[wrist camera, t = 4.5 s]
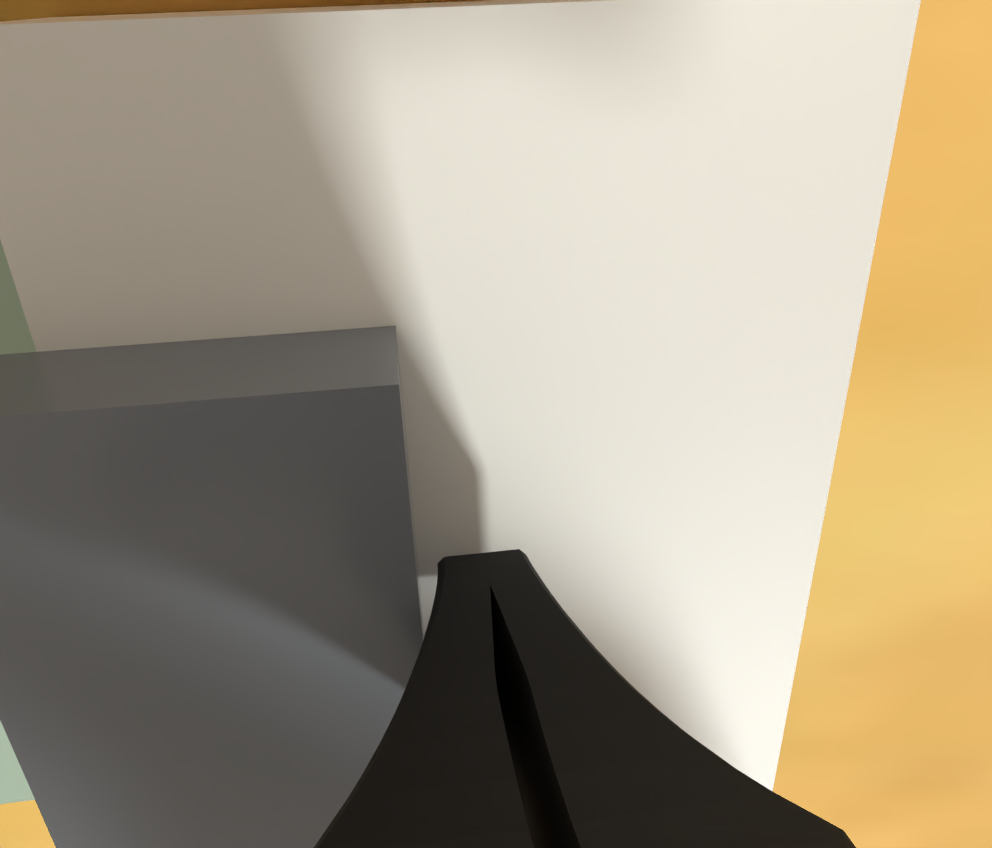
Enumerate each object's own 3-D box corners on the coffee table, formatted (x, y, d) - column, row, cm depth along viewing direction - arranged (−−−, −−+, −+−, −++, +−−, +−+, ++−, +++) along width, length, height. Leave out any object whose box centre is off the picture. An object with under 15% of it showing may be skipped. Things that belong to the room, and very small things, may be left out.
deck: (701, 705, 22) (763, 840, 19) (244, 763, 21) (218, 919, 17) (786, -12, 14) (923, -13, 11) (53, 17, 13) (-68, 27, 9)
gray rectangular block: (435, 760, 16) (442, 855, 14) (115, 801, 15) (81, 906, 14) (395, 325, 12) (398, 384, 10) (-49, 357, 11) (-129, 426, 9)
